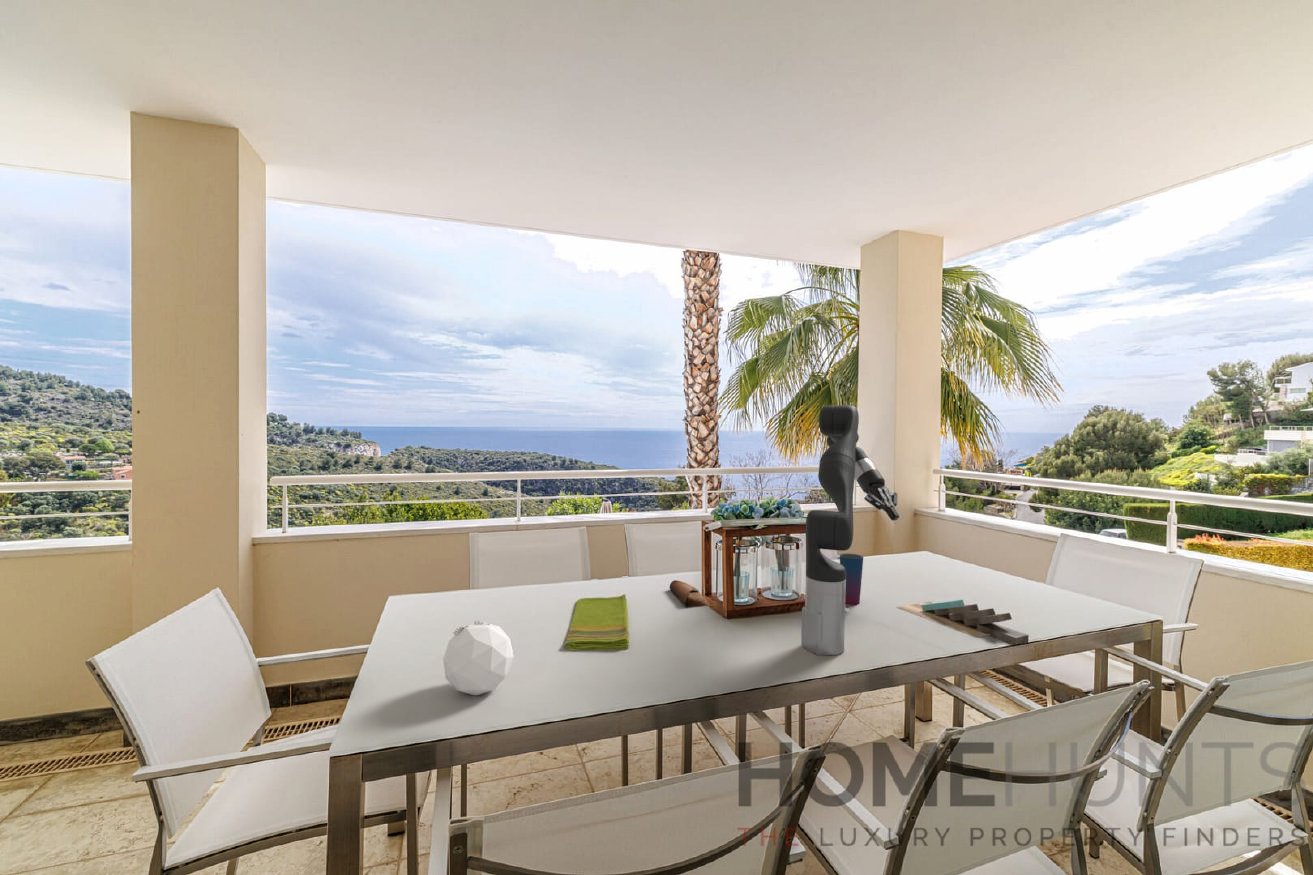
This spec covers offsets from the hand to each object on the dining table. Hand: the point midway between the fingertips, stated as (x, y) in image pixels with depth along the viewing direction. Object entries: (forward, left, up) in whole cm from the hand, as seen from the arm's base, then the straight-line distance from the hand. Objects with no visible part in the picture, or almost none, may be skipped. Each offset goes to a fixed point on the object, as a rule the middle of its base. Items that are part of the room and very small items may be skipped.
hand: (896, 518), depth 170 cm
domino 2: (0, -16, -24) cm, 29 cm away
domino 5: (0, -29, -24) cm, 37 cm away
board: (0, -19, -26) cm, 32 cm away
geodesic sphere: (-125, -9, -26) cm, 128 cm away
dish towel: (-90, +17, -26) cm, 96 cm away
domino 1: (0, -12, -24) cm, 27 cm away
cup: (-16, +2, -26) cm, 30 cm away
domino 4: (0, -25, -24) cm, 34 cm away
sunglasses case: (-57, +27, -26) cm, 69 cm away
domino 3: (0, -21, -24) cm, 32 cm away
